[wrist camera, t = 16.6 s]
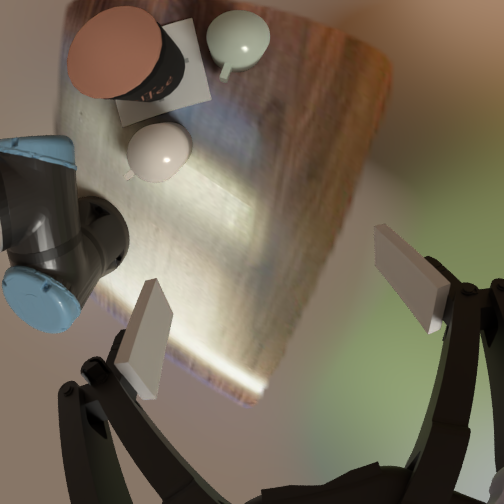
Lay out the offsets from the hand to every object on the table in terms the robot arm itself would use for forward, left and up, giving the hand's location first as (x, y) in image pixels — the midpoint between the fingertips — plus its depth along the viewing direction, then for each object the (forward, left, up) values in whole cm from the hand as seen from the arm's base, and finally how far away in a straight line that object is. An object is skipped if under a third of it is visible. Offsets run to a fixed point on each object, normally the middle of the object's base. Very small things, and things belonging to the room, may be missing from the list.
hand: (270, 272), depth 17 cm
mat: (-10, +19, -33) cm, 39 cm away
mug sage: (+3, +18, -33) cm, 38 cm away
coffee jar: (-10, +19, -32) cm, 39 cm away
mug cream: (-12, +6, -33) cm, 35 cm away
